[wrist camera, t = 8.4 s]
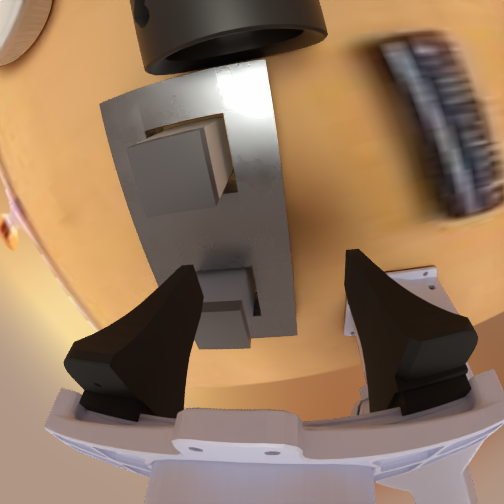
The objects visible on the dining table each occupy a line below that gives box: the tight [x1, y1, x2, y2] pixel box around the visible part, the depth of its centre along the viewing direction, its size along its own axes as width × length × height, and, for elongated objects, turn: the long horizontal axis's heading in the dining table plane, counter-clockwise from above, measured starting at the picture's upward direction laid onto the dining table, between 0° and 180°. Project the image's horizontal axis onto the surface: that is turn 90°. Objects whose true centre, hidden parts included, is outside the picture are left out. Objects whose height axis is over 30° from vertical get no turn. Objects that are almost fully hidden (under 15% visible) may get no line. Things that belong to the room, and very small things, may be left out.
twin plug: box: [194, 266, 255, 349], centre depth 22 cm, size 4×4×7 cm
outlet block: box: [99, 59, 297, 338], centre depth 21 cm, size 11×22×3 cm, turn 9°
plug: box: [126, 116, 233, 218], centre depth 16 cm, size 4×4×7 cm
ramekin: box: [0, 0, 52, 66], centre depth 9 cm, size 11×11×5 cm
